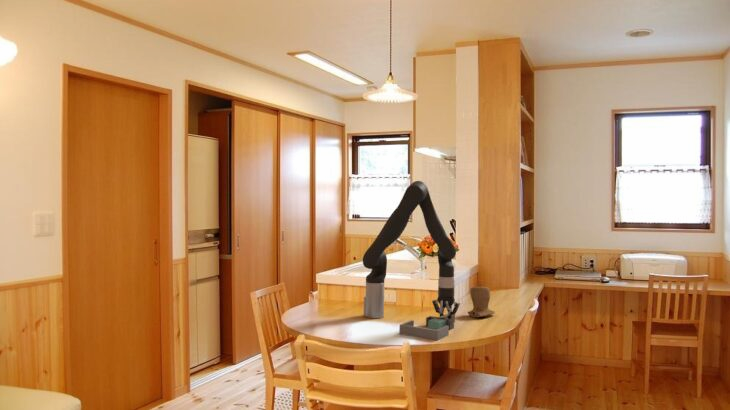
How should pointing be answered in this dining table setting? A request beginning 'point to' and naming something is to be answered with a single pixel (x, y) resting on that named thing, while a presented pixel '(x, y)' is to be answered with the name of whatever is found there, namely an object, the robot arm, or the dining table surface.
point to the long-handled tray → (445, 317)
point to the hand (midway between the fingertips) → (445, 322)
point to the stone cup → (480, 302)
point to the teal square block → (436, 323)
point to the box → (423, 331)
